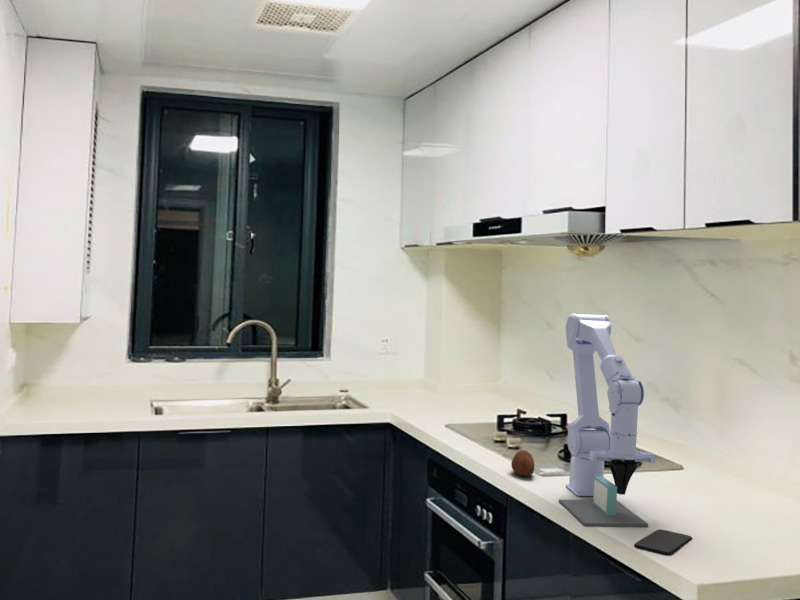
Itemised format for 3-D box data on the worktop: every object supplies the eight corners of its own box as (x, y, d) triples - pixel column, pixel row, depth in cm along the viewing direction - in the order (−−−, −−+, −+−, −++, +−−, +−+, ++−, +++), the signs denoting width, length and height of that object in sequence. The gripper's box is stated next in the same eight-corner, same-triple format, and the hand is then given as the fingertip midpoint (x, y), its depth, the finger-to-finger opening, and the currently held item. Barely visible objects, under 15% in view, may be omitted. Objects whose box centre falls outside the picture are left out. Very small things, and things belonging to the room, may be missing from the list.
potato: (517, 480, 203) (518, 455, 203) (506, 469, 215) (507, 446, 215) (539, 480, 204) (541, 455, 204) (527, 469, 216) (528, 446, 215)
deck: (592, 503, 181) (594, 476, 181) (601, 504, 181) (602, 476, 181) (606, 515, 172) (608, 486, 172) (615, 515, 172) (617, 486, 172)
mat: (558, 502, 184) (559, 499, 184) (616, 503, 185) (616, 500, 185) (584, 525, 166) (584, 523, 166) (648, 526, 167) (648, 524, 167)
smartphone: (694, 536, 161) (670, 553, 149) (693, 540, 161) (669, 558, 149) (658, 528, 165) (632, 544, 153) (658, 532, 165) (632, 548, 153)
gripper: (598, 436, 172) (595, 497, 172) (662, 437, 173) (659, 498, 174) (587, 429, 179) (584, 489, 179) (648, 431, 180) (645, 490, 181)
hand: (620, 493), depth 177 cm, fingers closed
